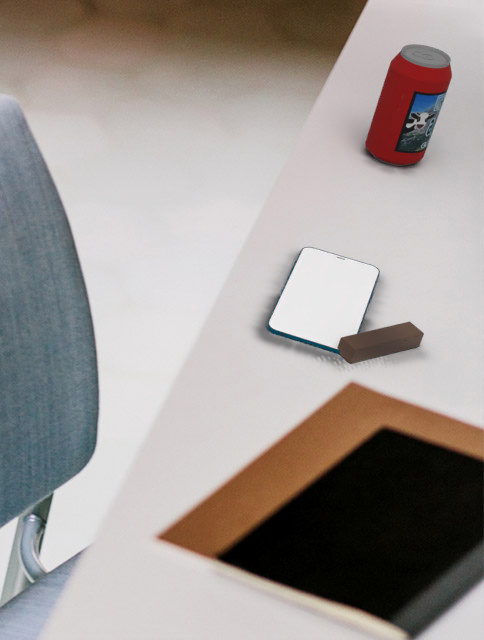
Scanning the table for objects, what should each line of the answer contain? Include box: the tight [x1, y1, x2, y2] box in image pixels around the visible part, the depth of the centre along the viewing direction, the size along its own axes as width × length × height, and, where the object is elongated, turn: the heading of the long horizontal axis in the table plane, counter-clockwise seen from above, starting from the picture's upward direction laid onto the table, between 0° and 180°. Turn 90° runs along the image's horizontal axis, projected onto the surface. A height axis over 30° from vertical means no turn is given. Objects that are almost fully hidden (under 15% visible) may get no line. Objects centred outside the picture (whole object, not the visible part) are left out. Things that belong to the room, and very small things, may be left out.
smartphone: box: [266, 246, 381, 356], centre depth 111 cm, size 8×1×16 cm
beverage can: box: [365, 43, 453, 167], centre depth 132 cm, size 7×7×12 cm
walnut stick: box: [337, 321, 425, 364], centre depth 105 cm, size 8×2×2 cm, turn 117°
